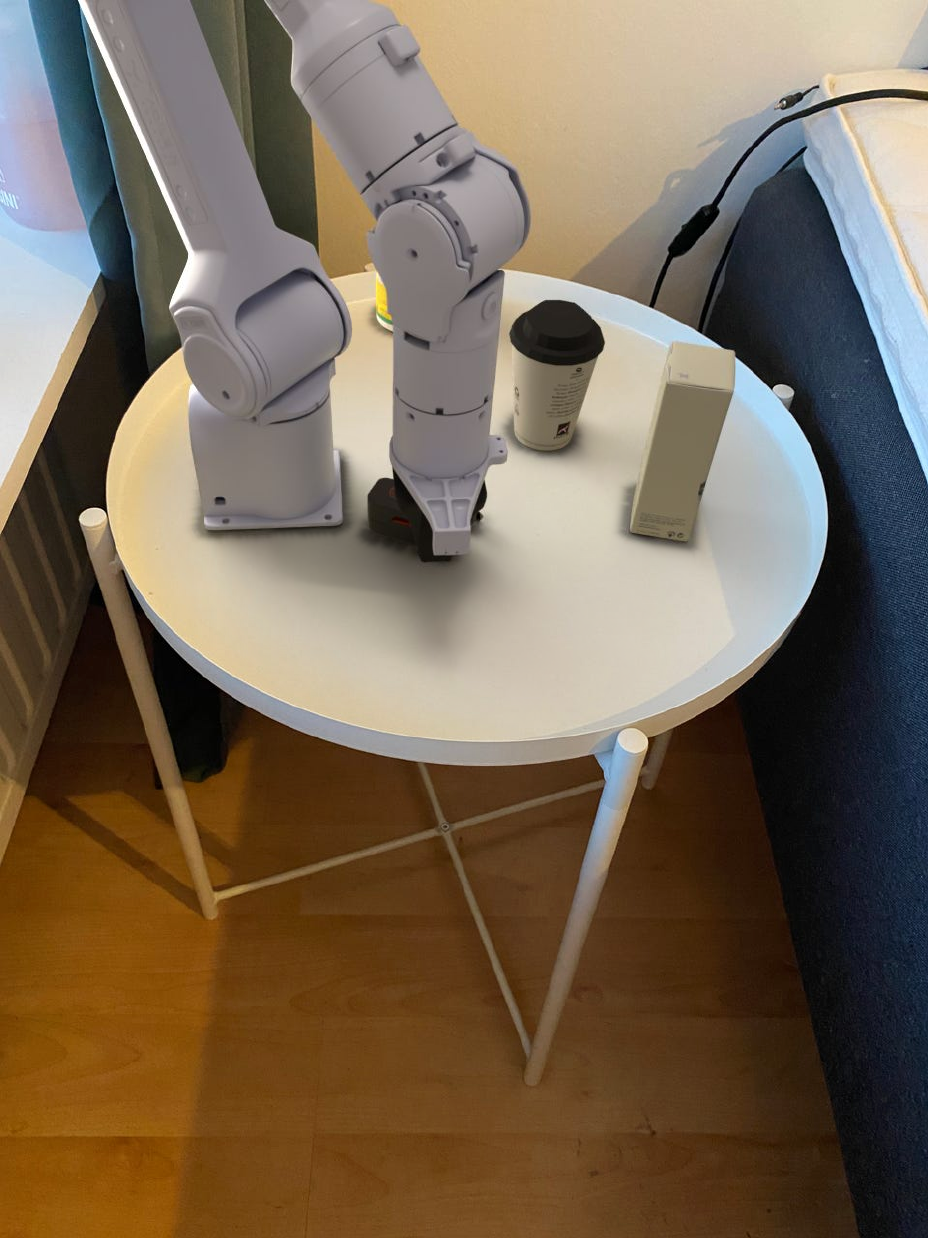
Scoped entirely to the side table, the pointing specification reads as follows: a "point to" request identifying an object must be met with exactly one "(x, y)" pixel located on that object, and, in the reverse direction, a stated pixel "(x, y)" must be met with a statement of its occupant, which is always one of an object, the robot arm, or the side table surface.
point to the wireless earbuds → (392, 514)
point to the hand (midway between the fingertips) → (435, 555)
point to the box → (682, 439)
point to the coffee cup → (552, 371)
